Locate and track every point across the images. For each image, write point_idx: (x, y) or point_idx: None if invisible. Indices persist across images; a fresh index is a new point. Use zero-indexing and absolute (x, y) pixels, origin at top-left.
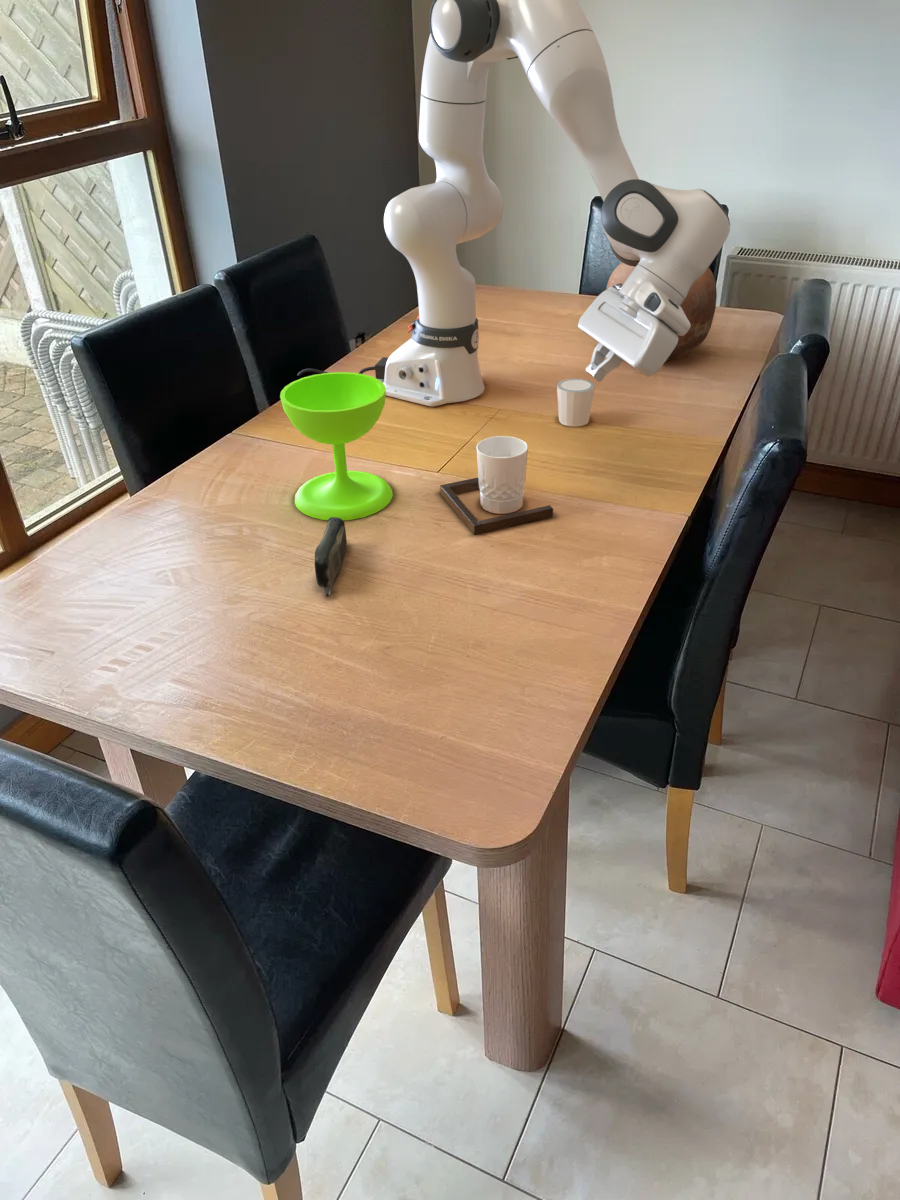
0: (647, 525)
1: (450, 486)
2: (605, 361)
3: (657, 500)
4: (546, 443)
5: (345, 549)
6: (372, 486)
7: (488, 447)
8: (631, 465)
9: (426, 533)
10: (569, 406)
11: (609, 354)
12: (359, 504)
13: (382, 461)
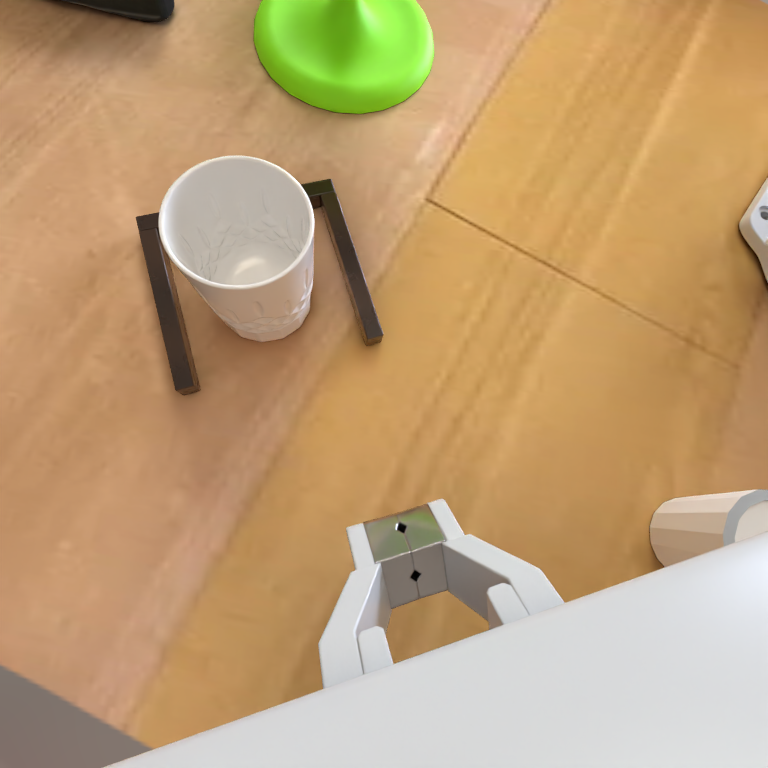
0: (90, 617)
1: (322, 197)
2: (347, 613)
3: (215, 676)
4: (555, 445)
5: (139, 19)
6: (356, 72)
7: (301, 211)
8: (420, 645)
9: (174, 149)
10: (690, 520)
11: (362, 659)
12: (284, 44)
13: (484, 112)
